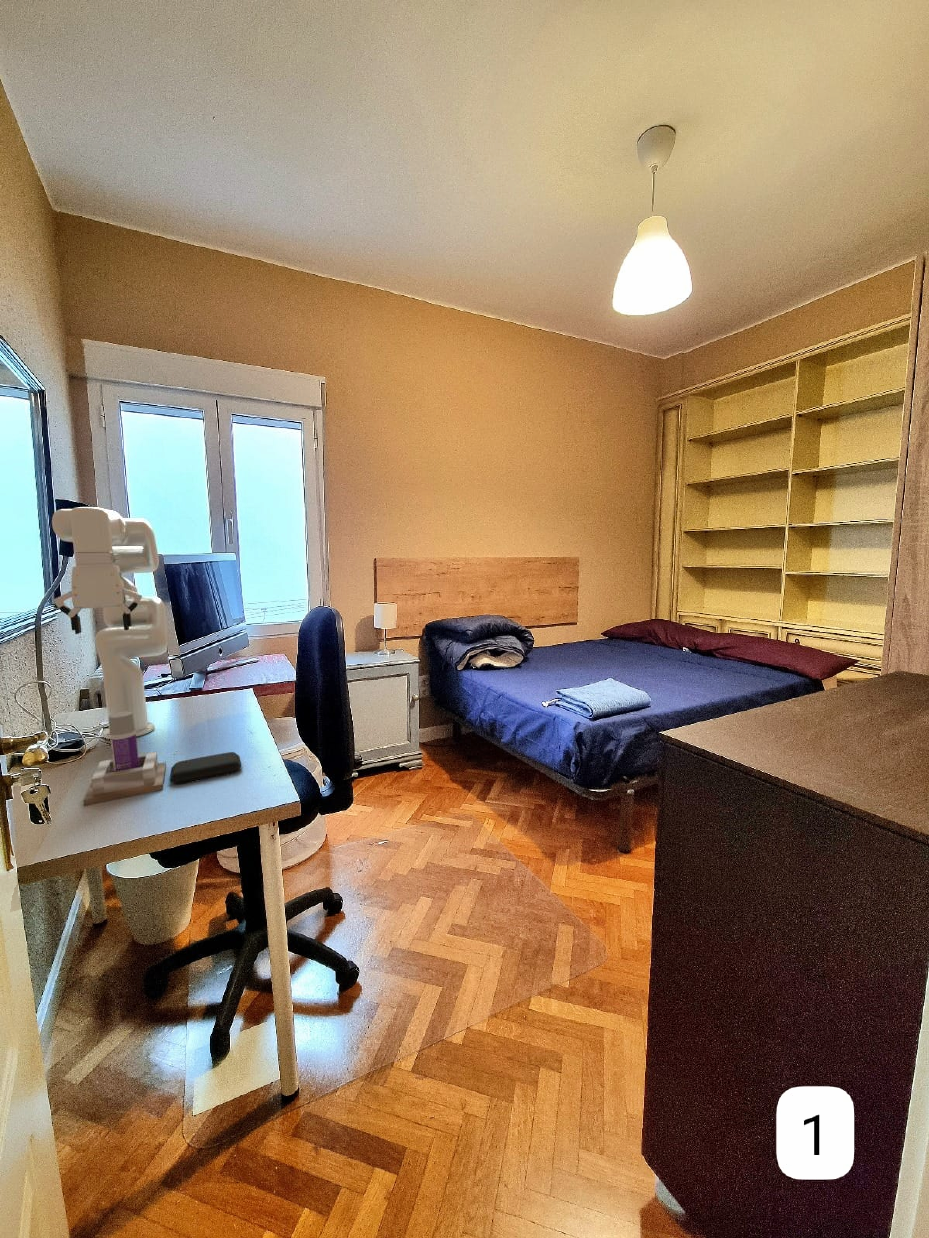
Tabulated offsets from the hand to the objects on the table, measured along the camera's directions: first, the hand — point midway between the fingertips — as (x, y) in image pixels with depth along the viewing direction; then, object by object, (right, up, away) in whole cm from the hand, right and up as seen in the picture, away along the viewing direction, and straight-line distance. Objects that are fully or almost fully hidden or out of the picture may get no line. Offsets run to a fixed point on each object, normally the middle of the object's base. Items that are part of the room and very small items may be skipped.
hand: (103, 631), depth 122 cm
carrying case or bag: (+27, -34, -3) cm, 43 cm away
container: (+12, -33, -9) cm, 36 cm away
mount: (+12, -34, -9) cm, 37 cm away
